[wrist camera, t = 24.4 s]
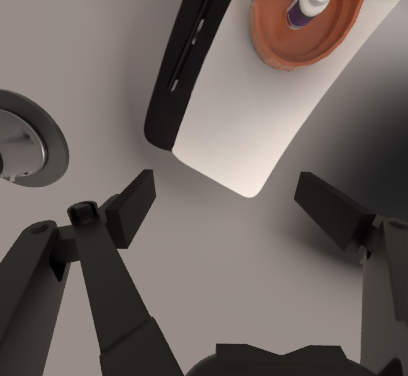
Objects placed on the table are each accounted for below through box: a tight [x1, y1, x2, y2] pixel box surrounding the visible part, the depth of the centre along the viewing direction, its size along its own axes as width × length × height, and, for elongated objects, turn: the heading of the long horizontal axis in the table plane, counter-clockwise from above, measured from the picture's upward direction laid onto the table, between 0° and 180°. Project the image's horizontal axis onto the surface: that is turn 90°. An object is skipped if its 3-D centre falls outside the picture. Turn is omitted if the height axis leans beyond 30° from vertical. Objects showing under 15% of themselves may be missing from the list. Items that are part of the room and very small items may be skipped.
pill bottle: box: [285, 0, 330, 30], centre depth 28 cm, size 5×5×8 cm
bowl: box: [249, 0, 364, 71], centre depth 30 cm, size 17×17×4 cm
